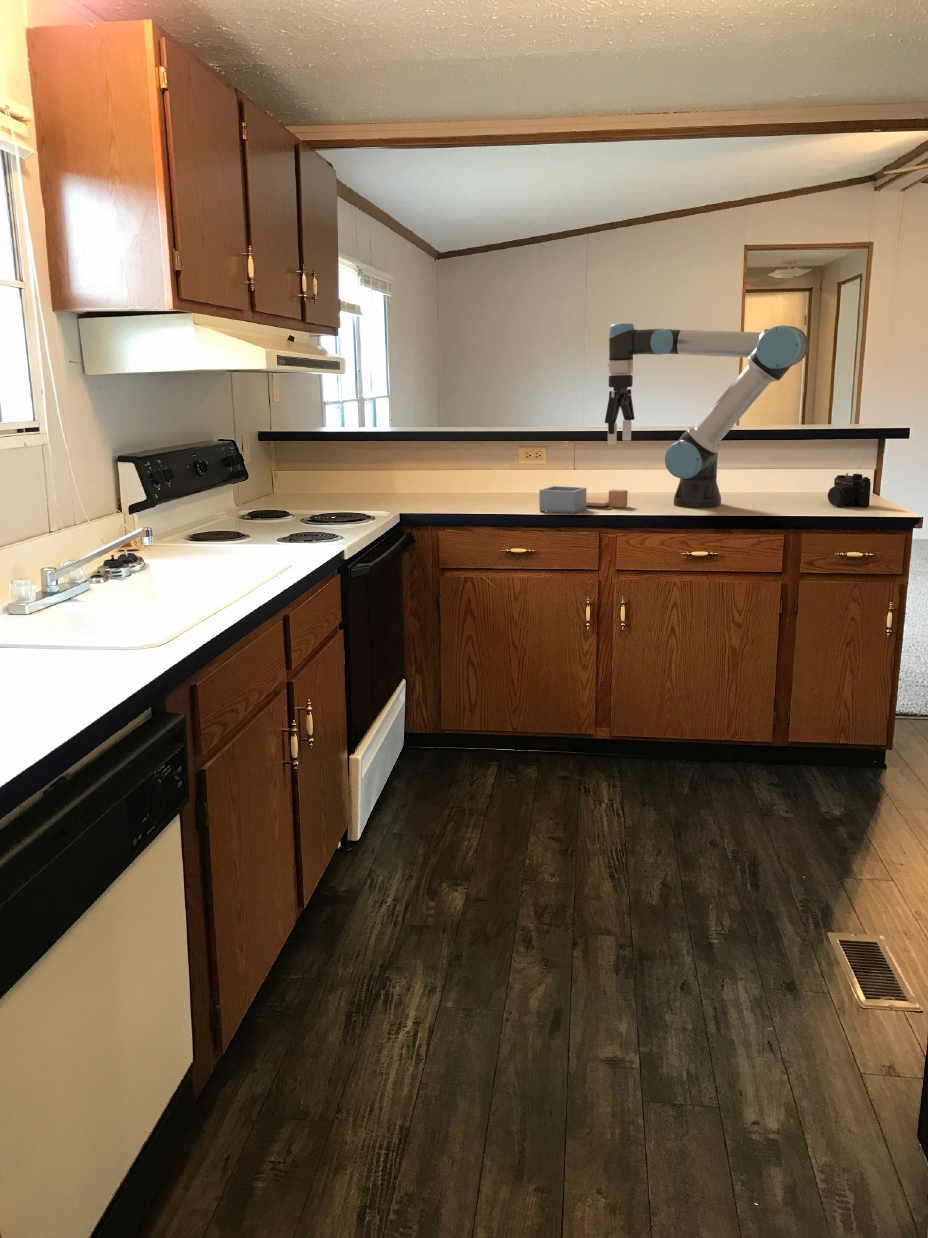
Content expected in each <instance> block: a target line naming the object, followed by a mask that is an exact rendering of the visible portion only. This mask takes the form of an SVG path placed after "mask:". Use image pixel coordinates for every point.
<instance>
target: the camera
mask: <svg viewBox="0 0 928 1238" xmlns="http://www.w3.org/2000/svg"><path fill="white" fill-rule="evenodd" d="M871 483H872V482H871V479H870V478H869V477H867V476H863V474H862V473H853V474H852V475H849V473H845V474H838V475H836V477H835V478H834V483H833V484H834V485H833V486H832V487H830V489H828V493H827V500H828V503H829V504H830V505H832V506H833V507H834V506H835V507H842V506H845V507H858V508H865V509H866V508H867V509H868V508H869V507H870V497H871V487H872V486H871Z"/></svg>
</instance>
